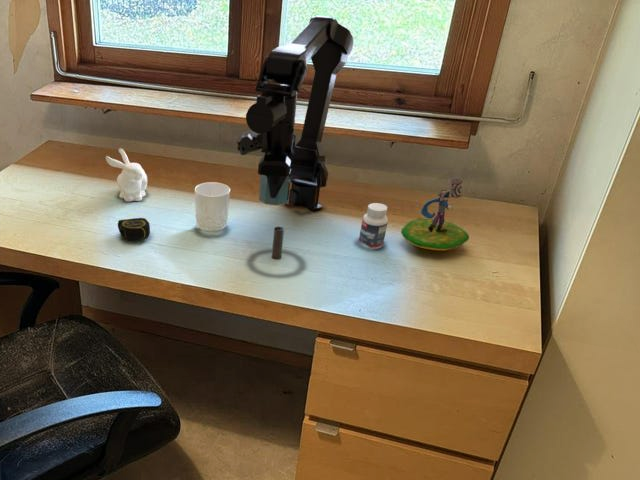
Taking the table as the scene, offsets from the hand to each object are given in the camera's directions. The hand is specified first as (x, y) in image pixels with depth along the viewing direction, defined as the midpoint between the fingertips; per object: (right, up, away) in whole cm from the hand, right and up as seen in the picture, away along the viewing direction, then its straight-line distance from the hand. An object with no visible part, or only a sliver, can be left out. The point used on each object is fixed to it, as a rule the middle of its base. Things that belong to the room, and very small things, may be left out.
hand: (274, 191), depth 148 cm
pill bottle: (+22, -11, +3) cm, 25 cm away
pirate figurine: (+35, -12, +2) cm, 37 cm away
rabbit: (-32, +5, +26) cm, 41 cm away
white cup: (-13, -7, +10) cm, 18 cm away
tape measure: (-31, -8, +8) cm, 33 cm away
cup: (0, -1, +1) cm, 2 cm away
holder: (0, -16, -3) cm, 16 cm away
